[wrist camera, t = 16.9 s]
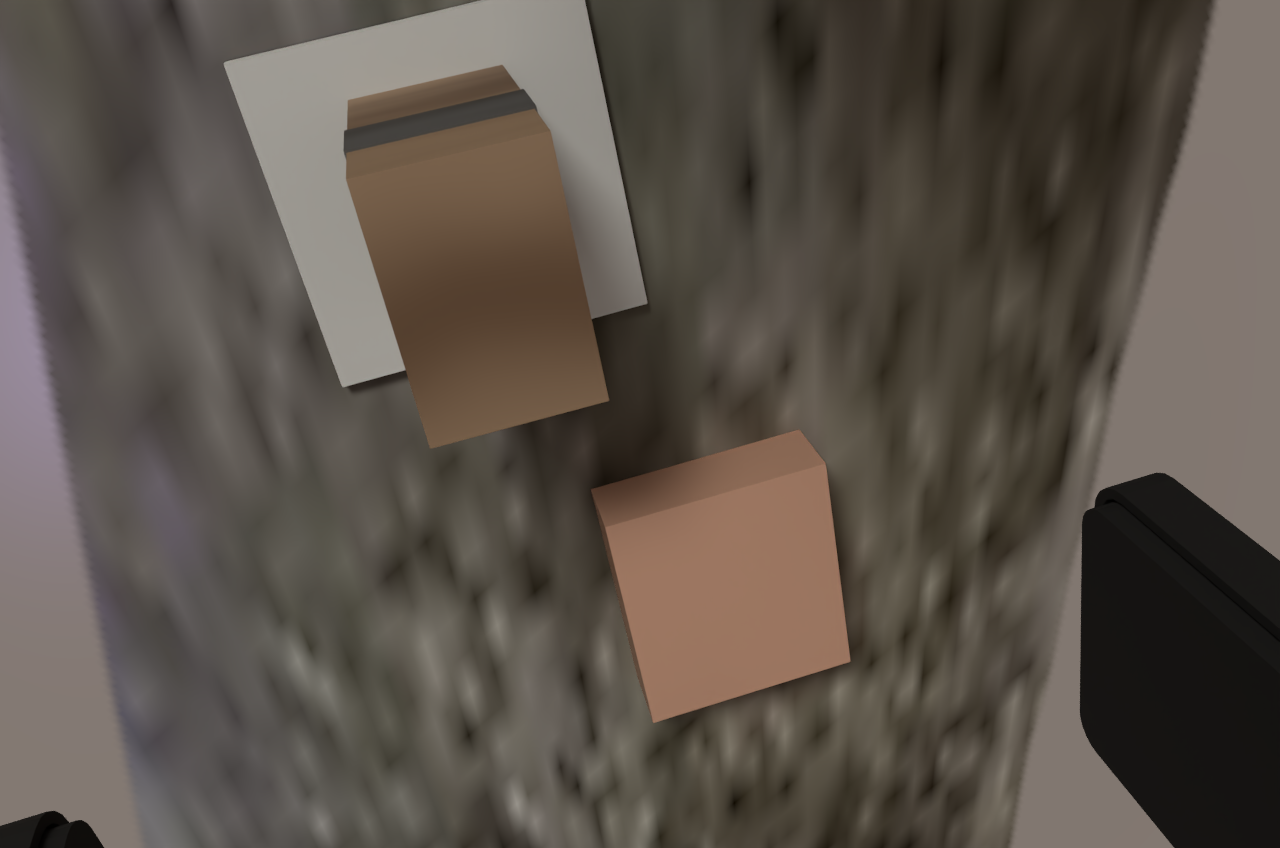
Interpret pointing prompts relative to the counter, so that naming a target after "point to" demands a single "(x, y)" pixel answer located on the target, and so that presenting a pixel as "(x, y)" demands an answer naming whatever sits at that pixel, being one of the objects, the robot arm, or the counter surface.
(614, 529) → the tile
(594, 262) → the rest mat
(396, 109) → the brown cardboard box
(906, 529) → the counter surface
